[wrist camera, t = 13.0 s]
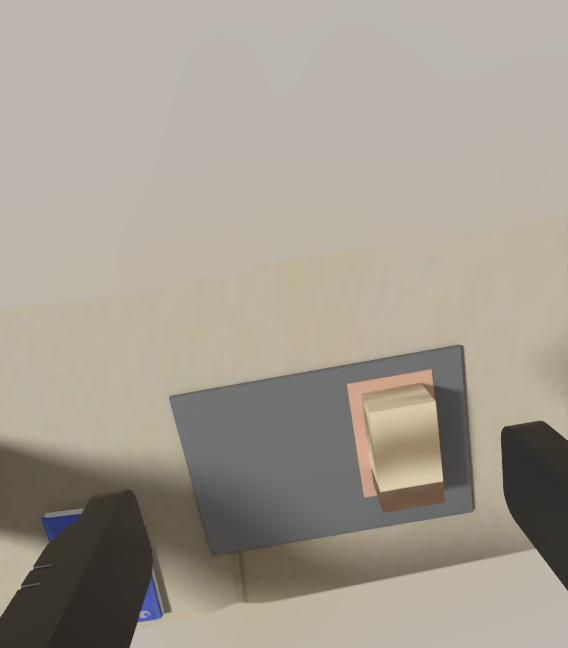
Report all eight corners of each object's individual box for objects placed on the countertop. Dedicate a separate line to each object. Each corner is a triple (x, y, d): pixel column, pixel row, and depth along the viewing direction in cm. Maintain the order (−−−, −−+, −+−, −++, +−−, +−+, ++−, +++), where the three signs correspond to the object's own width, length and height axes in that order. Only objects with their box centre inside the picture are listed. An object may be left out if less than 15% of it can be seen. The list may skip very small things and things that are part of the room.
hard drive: (162, 619, 42) (133, 508, 39) (75, 631, 42) (39, 520, 39) (165, 605, 44) (138, 496, 40) (82, 616, 44) (48, 508, 40)
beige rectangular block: (360, 393, 37) (369, 412, 34) (420, 382, 37) (435, 401, 34) (373, 486, 39) (383, 513, 36) (430, 476, 39) (445, 502, 36)
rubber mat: (212, 552, 42) (211, 556, 41) (170, 396, 37) (168, 398, 37) (471, 508, 41) (473, 512, 40) (458, 344, 37) (461, 346, 36)
